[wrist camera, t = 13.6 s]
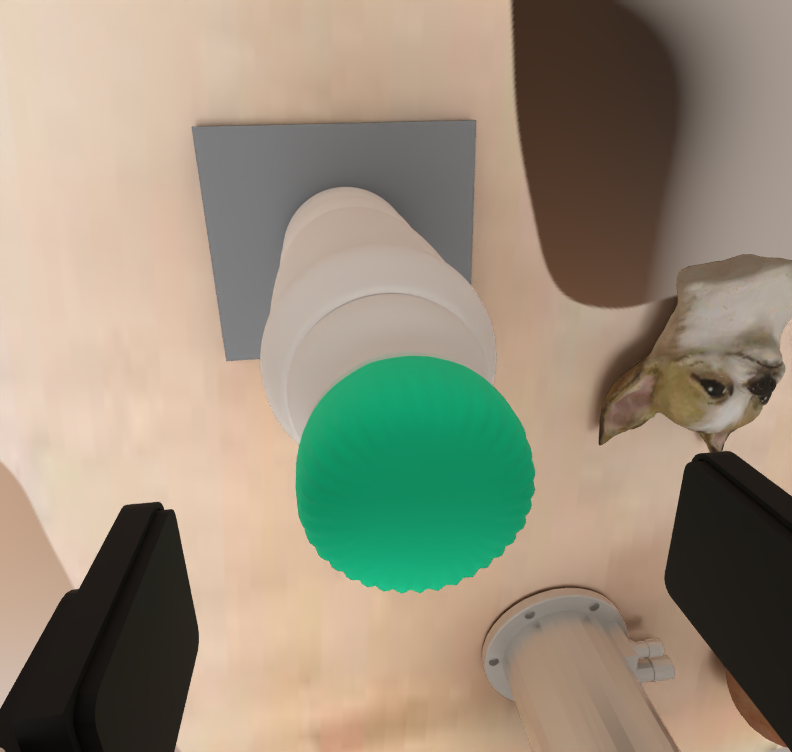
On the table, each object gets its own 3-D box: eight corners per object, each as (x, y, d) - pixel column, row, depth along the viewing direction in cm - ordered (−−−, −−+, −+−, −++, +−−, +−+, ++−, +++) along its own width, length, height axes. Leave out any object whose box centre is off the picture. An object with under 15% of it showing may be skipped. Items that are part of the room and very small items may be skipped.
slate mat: (470, 120, 33) (476, 120, 32) (464, 337, 38) (468, 344, 37) (195, 126, 31) (191, 126, 30) (228, 353, 36) (226, 361, 35)
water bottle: (304, 166, 31) (292, 272, 9) (424, 210, 33) (677, 396, 10) (269, 287, 34) (186, 624, 11) (383, 323, 36) (514, 676, 13)
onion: (708, 605, 56) (755, 660, 46) (816, 609, 54) (889, 667, 44) (708, 702, 56) (755, 777, 46) (816, 709, 55) (888, 788, 45)
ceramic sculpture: (912, 288, 31) (779, 510, 37) (794, 246, 39) (701, 437, 45) (739, 255, 29) (629, 496, 35) (651, 218, 37) (574, 422, 43)
